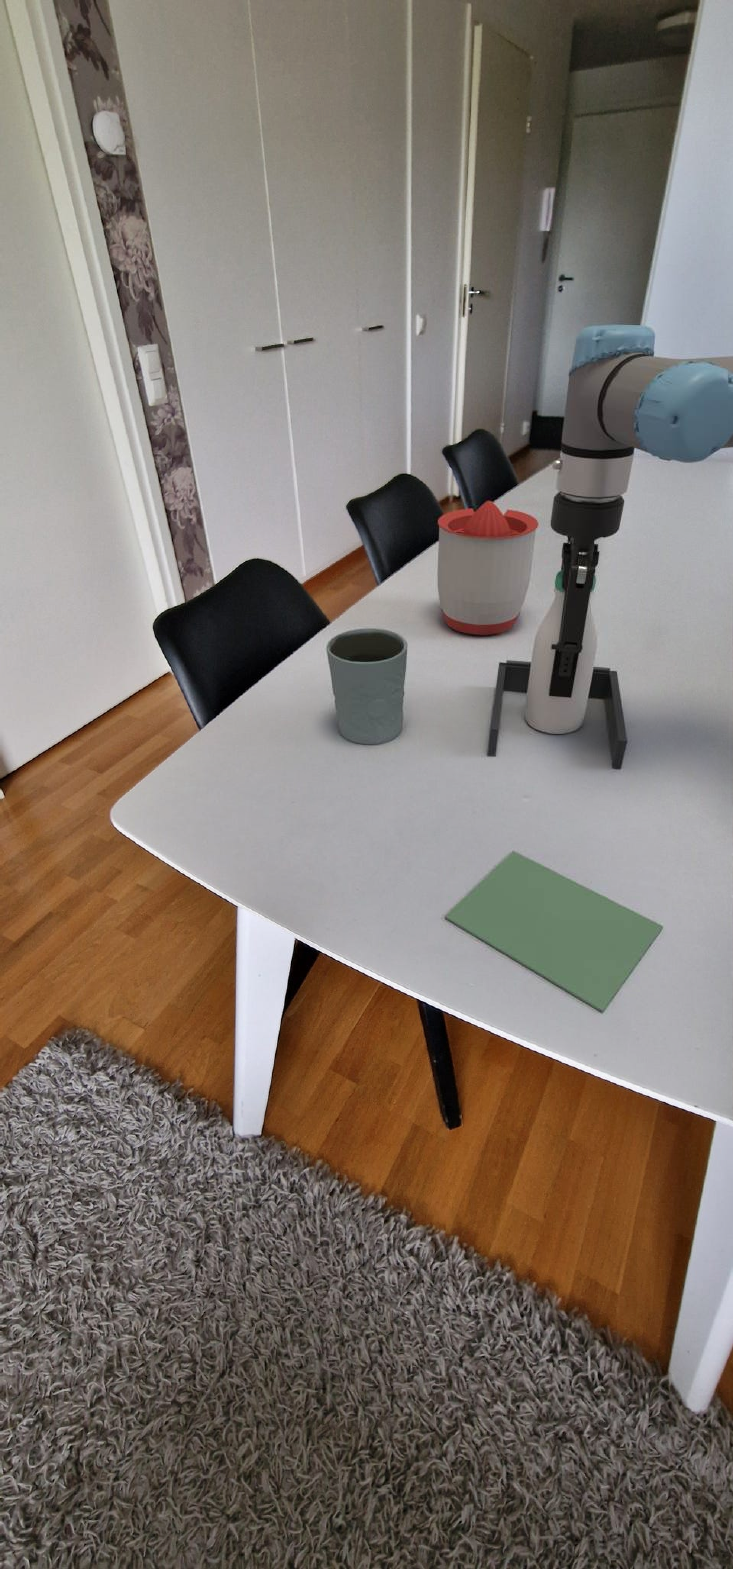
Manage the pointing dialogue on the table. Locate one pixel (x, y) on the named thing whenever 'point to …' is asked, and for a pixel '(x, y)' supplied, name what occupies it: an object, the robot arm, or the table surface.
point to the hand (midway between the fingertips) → (559, 679)
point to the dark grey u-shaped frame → (601, 687)
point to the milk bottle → (541, 707)
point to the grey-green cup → (368, 683)
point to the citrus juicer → (484, 567)
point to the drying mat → (556, 928)
